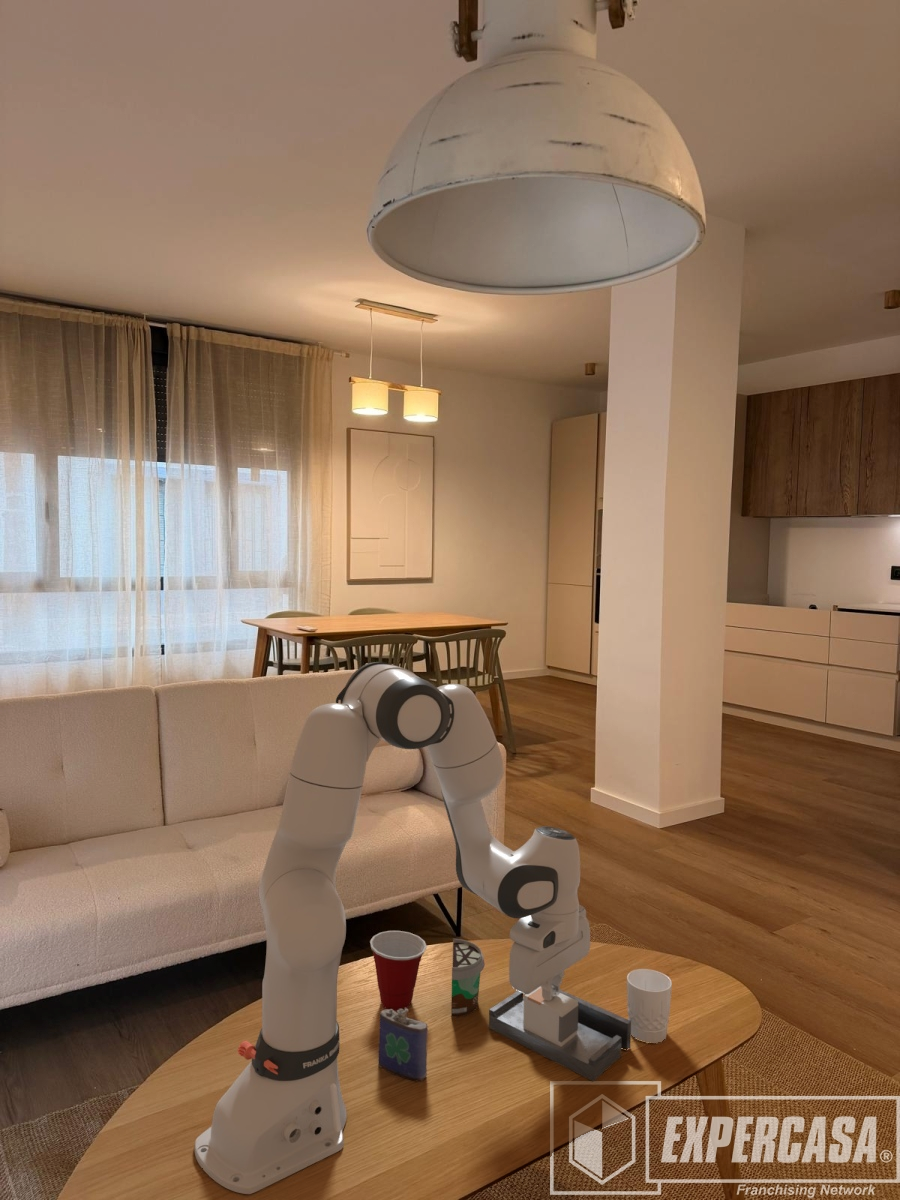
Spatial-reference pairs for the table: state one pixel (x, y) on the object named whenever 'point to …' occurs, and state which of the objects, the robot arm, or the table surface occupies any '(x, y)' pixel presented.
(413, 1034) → the flask
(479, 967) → the food container
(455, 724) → the robot arm
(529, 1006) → the block
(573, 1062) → the dark grey tray
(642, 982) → the white cup
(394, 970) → the plastic cup
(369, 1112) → the table surface
